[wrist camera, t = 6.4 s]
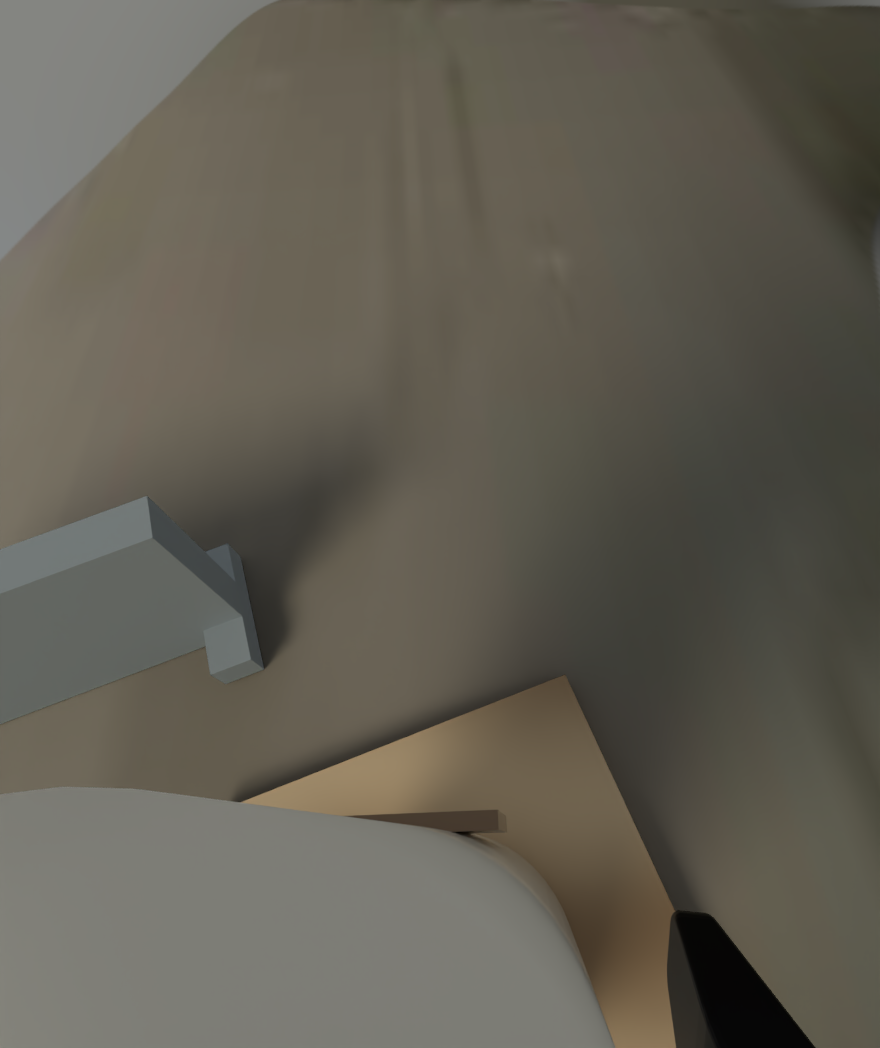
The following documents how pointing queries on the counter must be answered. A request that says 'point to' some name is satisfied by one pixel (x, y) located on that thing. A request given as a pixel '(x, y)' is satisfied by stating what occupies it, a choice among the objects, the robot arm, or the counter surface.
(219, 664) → the screen
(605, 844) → the mat
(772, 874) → the counter surface
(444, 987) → the canister
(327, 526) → the counter surface
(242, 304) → the counter surface
